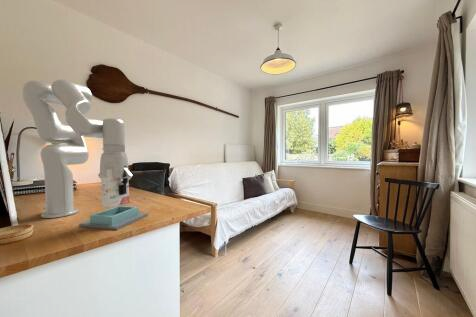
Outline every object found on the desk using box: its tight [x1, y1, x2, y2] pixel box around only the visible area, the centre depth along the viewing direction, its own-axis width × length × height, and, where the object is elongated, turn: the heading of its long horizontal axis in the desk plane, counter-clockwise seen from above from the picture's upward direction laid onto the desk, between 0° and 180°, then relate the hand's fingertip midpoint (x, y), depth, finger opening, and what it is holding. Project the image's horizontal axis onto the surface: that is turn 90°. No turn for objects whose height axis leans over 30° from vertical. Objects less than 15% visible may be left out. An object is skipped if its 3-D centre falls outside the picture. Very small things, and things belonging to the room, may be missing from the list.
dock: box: [78, 205, 149, 231], centre depth 83 cm, size 17×17×4 cm
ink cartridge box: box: [100, 169, 130, 208], centre depth 83 cm, size 9×5×15 cm, turn 149°
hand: (115, 193), depth 83 cm, fingers closed on ink cartridge box, 6 cm apart
